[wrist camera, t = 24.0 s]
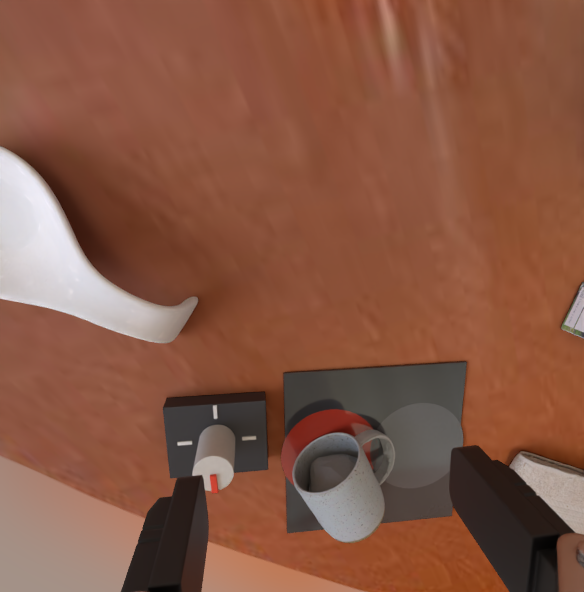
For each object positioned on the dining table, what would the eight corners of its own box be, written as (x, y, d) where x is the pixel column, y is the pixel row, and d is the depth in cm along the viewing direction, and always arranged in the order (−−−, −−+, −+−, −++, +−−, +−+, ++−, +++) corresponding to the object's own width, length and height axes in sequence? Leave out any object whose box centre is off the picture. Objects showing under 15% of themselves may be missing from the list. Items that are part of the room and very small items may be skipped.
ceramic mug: (320, 506, 45) (335, 567, 37) (286, 453, 42) (296, 506, 35) (401, 461, 45) (433, 513, 37) (372, 406, 42) (399, 449, 35)
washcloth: (582, 556, 51) (603, 578, 48) (468, 526, 48) (482, 548, 45) (628, 481, 49) (653, 499, 46) (512, 445, 46) (531, 462, 43)
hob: (469, 360, 43) (471, 361, 42) (454, 513, 47) (455, 515, 47) (278, 372, 40) (278, 374, 40) (282, 531, 45) (282, 533, 45)
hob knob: (197, 426, 39) (189, 461, 34) (233, 422, 39) (231, 455, 34) (201, 458, 40) (194, 496, 34) (237, 453, 40) (235, 490, 35)
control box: (264, 391, 41) (265, 401, 39) (267, 457, 43) (268, 471, 41) (166, 397, 40) (162, 408, 38) (173, 465, 42) (169, 479, 40)
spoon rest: (-89, 239, 34) (-176, 249, 27) (-34, 116, 32) (-111, 93, 25) (161, 364, 39) (142, 399, 32) (220, 263, 37) (214, 278, 30)
